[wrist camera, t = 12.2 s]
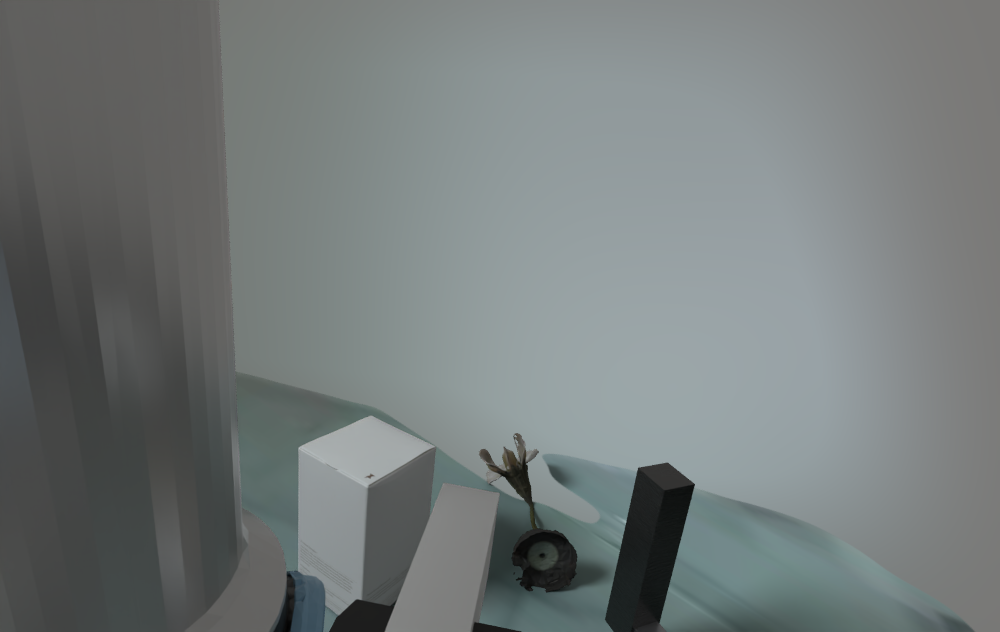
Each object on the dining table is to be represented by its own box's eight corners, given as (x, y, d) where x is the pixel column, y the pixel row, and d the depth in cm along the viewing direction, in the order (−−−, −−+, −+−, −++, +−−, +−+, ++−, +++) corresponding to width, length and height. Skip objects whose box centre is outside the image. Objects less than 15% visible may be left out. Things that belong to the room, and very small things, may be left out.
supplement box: (428, 576, 53) (440, 445, 49) (360, 635, 46) (368, 487, 42) (365, 535, 58) (372, 412, 54) (294, 583, 50) (295, 445, 46)
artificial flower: (495, 605, 52) (478, 515, 51) (489, 492, 75) (477, 426, 73) (583, 589, 53) (569, 498, 51) (550, 481, 75) (540, 415, 73)
